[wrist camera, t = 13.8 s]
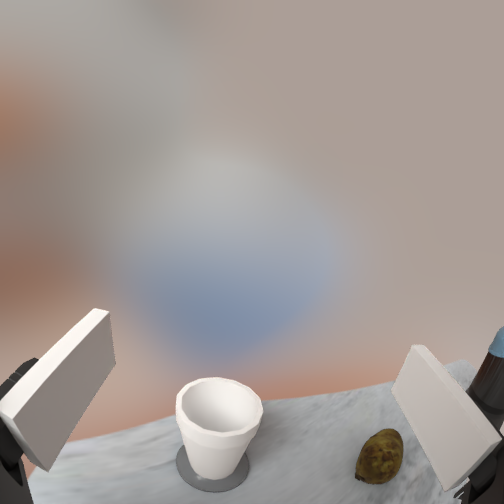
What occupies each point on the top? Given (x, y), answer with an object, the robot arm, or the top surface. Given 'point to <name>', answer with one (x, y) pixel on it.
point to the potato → (380, 457)
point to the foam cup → (217, 424)
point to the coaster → (210, 484)
